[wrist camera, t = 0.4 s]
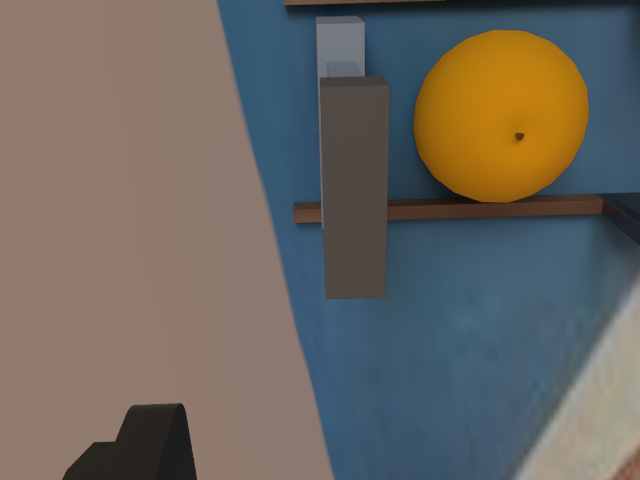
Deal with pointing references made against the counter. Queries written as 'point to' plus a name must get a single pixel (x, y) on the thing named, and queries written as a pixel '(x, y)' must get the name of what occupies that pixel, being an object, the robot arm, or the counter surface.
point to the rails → (460, 205)
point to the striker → (352, 161)
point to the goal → (623, 212)
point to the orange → (501, 116)
